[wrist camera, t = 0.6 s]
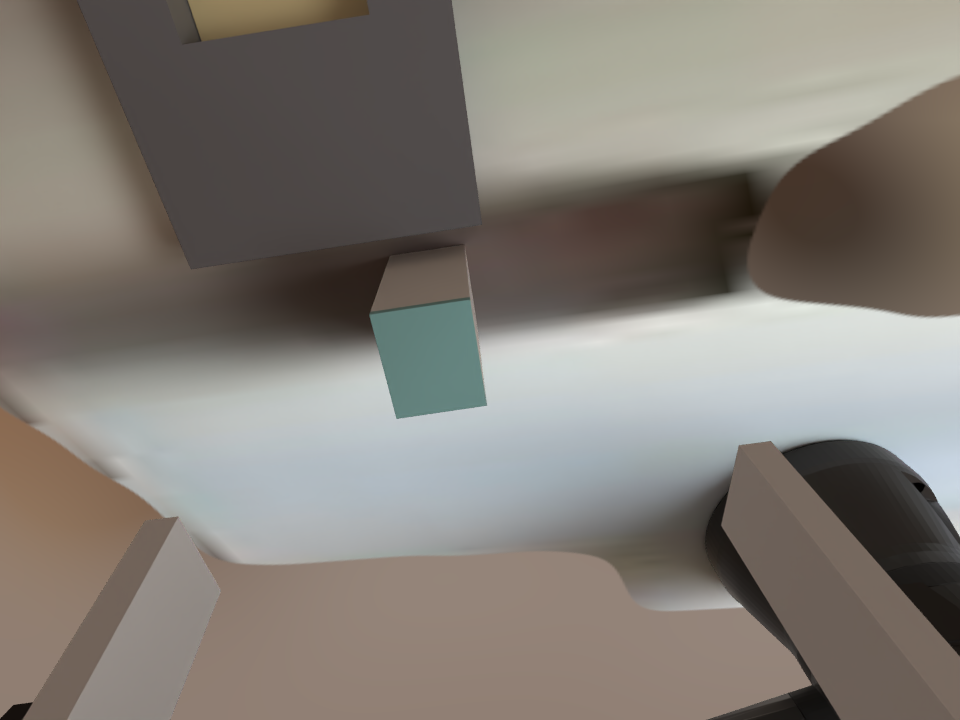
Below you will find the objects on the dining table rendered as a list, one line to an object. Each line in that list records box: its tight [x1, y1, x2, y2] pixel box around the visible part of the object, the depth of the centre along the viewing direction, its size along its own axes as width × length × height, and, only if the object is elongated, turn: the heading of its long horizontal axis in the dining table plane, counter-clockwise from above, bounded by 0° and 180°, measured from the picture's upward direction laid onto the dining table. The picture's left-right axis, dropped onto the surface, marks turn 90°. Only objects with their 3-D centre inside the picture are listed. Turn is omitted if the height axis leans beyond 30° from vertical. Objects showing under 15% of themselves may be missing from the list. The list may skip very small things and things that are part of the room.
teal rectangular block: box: [369, 245, 487, 419], centre depth 25 cm, size 5×4×8 cm
